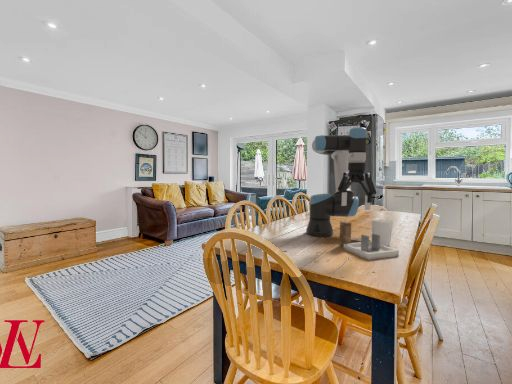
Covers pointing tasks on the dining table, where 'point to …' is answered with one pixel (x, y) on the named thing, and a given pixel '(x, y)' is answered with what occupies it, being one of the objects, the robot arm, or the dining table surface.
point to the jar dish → (371, 248)
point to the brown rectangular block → (345, 233)
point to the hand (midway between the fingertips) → (355, 207)
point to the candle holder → (382, 230)
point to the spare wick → (355, 240)
